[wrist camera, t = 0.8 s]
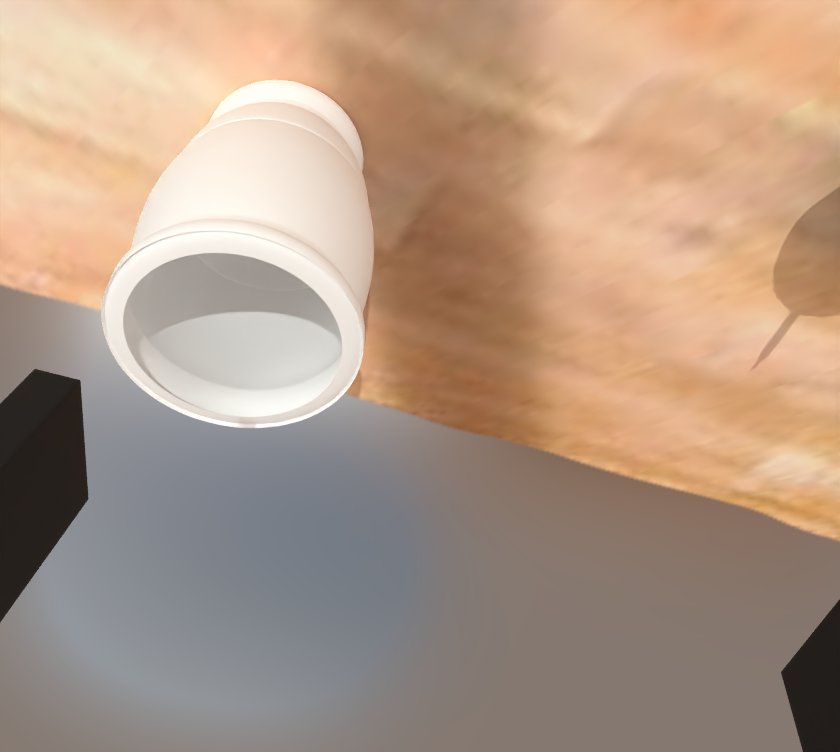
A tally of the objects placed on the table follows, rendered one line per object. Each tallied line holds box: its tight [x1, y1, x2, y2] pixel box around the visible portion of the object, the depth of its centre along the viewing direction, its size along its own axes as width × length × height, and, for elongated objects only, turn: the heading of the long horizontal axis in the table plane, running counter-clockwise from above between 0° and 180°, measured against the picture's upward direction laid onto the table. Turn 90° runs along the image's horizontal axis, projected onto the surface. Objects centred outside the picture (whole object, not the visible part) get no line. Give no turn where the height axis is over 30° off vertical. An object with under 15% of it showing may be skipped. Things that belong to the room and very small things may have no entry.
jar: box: [101, 80, 374, 428], centre depth 36 cm, size 11×10×15 cm
